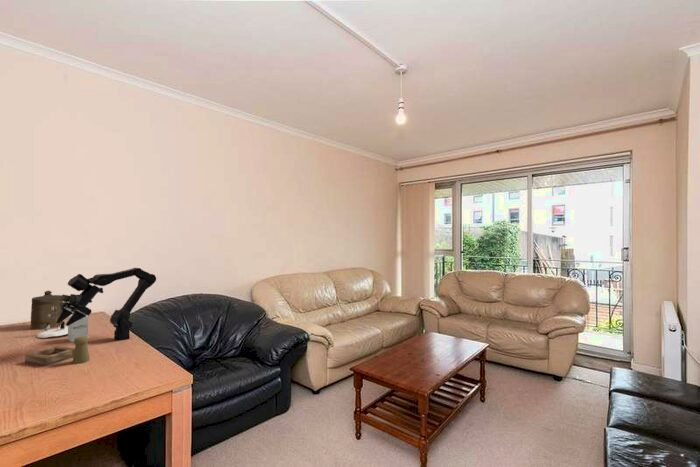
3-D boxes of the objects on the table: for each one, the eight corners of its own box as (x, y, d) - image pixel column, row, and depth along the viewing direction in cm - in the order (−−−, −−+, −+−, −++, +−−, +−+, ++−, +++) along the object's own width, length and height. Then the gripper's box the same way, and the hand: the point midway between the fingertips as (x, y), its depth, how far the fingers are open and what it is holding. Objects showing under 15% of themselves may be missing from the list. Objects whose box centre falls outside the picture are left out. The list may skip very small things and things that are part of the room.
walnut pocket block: (57, 353, 161) (57, 346, 161) (77, 356, 158) (77, 348, 158) (24, 363, 149) (25, 355, 149) (46, 366, 145) (46, 358, 145)
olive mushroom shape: (79, 364, 148) (80, 339, 148) (68, 363, 149) (69, 338, 149) (92, 359, 154) (93, 335, 154) (82, 358, 155) (82, 334, 155)
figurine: (87, 329, 199) (86, 302, 199) (53, 339, 181) (51, 309, 181) (63, 330, 204) (61, 303, 204) (27, 339, 186) (25, 310, 187)
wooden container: (59, 321, 219) (60, 288, 219) (65, 325, 209) (65, 290, 210) (28, 326, 207) (29, 290, 207) (32, 330, 198) (33, 293, 198)
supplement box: (71, 342, 177) (71, 318, 178) (67, 339, 182) (67, 316, 182) (88, 339, 183) (88, 316, 183) (84, 336, 188) (84, 314, 188)
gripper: (62, 286, 169) (36, 313, 160) (82, 289, 160) (55, 318, 151) (82, 297, 176) (58, 324, 167) (101, 301, 168) (77, 329, 159)
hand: (61, 324), depth 161 cm, fingers open, 9 cm apart
